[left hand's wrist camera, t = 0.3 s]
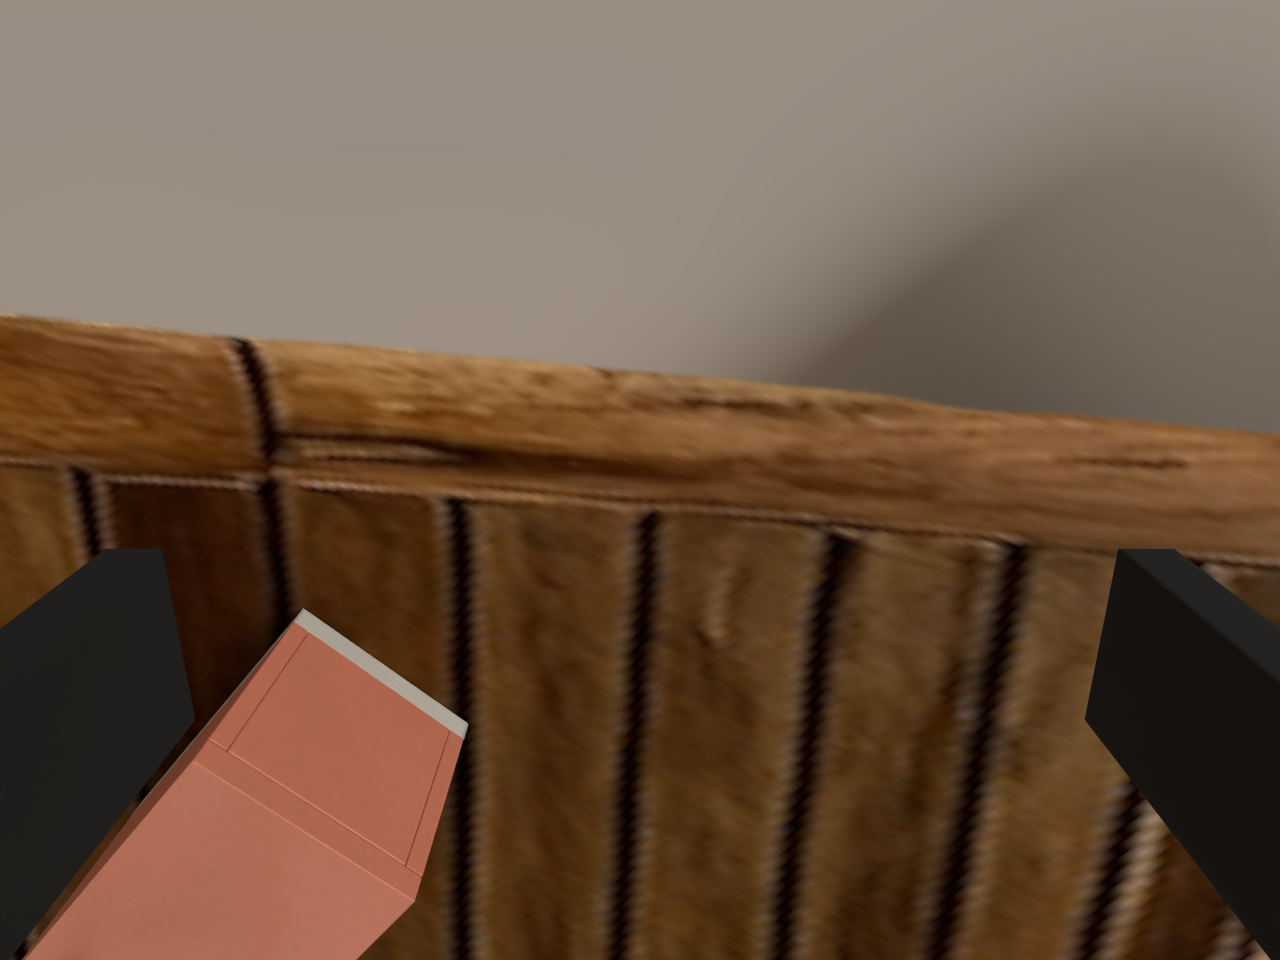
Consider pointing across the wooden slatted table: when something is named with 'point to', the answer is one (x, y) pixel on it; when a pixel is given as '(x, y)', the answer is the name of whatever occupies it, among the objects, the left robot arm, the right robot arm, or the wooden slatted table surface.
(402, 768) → the chest
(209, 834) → the lid
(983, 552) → the wooden slatted table surface
